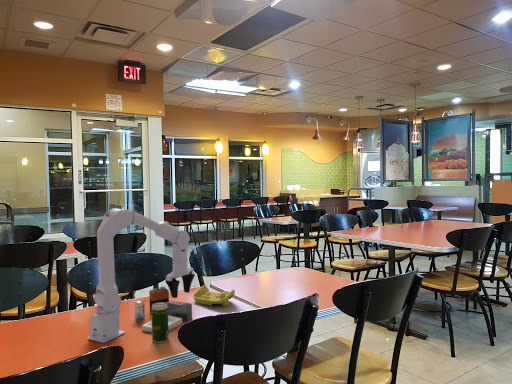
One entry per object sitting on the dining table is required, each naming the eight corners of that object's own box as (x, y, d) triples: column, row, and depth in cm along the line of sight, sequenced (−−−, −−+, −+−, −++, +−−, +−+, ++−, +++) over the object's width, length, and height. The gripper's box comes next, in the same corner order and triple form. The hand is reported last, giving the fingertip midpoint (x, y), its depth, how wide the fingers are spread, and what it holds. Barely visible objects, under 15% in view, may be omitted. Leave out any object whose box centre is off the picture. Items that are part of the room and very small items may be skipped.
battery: (169, 311, 157) (169, 287, 156) (153, 315, 153) (152, 290, 152) (165, 308, 160) (164, 285, 160) (149, 312, 156) (148, 288, 156)
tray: (161, 334, 133) (160, 329, 133) (142, 330, 137) (142, 325, 137) (182, 323, 143) (182, 318, 143) (164, 319, 147) (164, 314, 147)
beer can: (169, 336, 132) (168, 301, 131) (167, 343, 126) (166, 306, 126) (153, 337, 131) (152, 302, 131) (150, 344, 126) (150, 307, 125)
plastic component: (190, 296, 169) (205, 282, 175) (197, 310, 171) (212, 295, 178) (220, 302, 155) (236, 287, 162) (227, 317, 158) (242, 301, 164)
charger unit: (187, 321, 145) (186, 306, 145) (166, 317, 150) (166, 302, 149) (192, 318, 148) (192, 303, 148) (172, 315, 152) (171, 300, 152)
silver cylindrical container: (139, 322, 145) (139, 303, 145) (132, 320, 147) (132, 302, 147) (146, 318, 149) (146, 301, 148) (139, 317, 150) (139, 299, 150)
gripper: (176, 265, 142) (177, 301, 143) (199, 257, 155) (200, 291, 156) (161, 263, 146) (162, 299, 146) (185, 256, 158) (185, 289, 159)
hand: (180, 294), depth 151 cm, fingers open, 7 cm apart
